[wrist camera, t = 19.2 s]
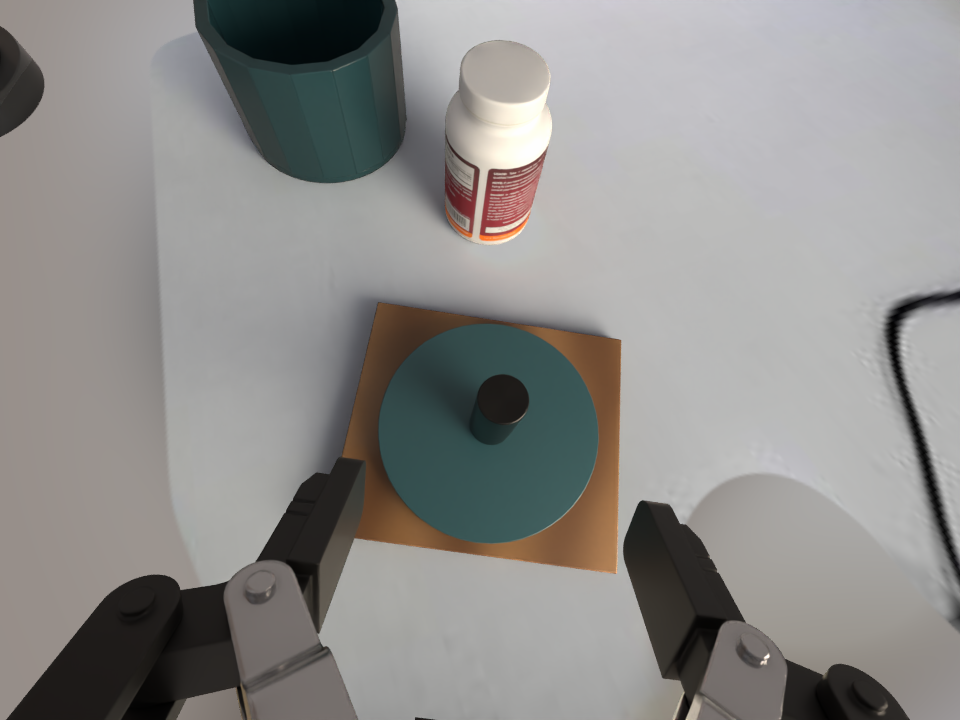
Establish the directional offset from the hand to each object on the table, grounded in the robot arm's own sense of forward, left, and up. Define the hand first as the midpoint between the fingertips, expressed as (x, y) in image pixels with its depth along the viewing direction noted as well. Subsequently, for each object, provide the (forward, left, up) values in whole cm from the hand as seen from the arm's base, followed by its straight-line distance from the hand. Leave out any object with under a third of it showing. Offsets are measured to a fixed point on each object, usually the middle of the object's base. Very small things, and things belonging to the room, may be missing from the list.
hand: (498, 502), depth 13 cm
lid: (0, +5, -12) cm, 13 cm away
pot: (-15, +27, -13) cm, 33 cm away
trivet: (0, +5, -13) cm, 14 cm away
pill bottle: (-2, +21, -14) cm, 25 cm away
